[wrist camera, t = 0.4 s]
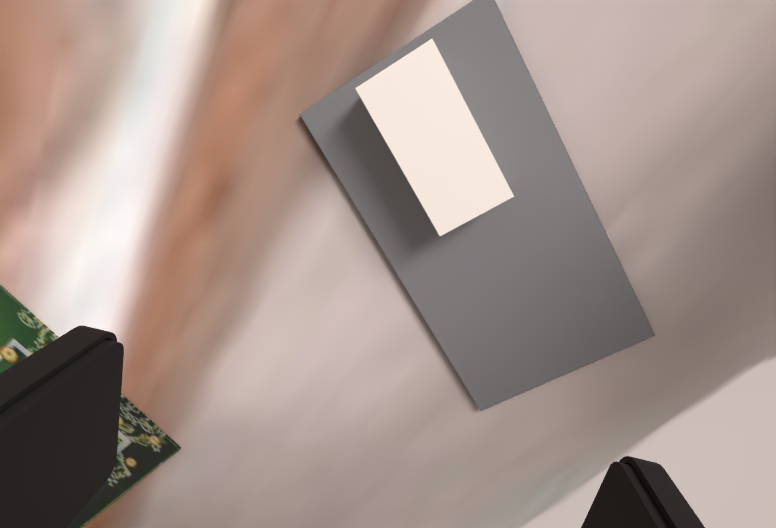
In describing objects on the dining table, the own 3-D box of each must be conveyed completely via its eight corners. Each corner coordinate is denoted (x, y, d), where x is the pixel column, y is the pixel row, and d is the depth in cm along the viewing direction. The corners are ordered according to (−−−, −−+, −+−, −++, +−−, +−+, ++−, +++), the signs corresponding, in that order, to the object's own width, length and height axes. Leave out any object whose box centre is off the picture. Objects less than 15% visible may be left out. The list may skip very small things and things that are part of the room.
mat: (488, -8, 29) (489, -11, 28) (651, 331, 35) (655, 335, 34) (302, 114, 32) (299, 114, 32) (479, 406, 38) (480, 411, 37)
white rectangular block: (431, 47, 30) (432, 38, 26) (504, 186, 32) (514, 196, 28) (364, 91, 31) (355, 88, 27) (438, 221, 33) (439, 236, 29)
